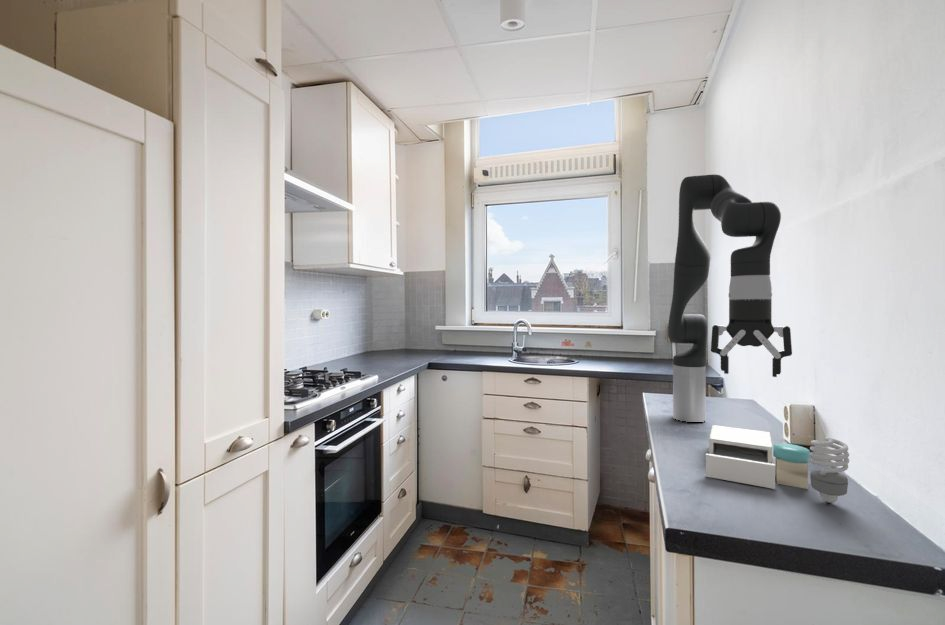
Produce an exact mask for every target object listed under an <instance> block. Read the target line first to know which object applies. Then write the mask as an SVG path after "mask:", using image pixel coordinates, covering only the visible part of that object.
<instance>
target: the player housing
mask: <svg viewBox="0 0 945 625" xmlns="http://www.w3.org/2000/svg"><path fill="white" fill-rule="evenodd" d="M710 430H711V431H710V434H709V438H708V439H709V440H708V443H709V445H708V448H709V450H708V454H714V453H715V449H720V450H727V451H733V452H740V453H746V454H753V455H760V456H766V463H771V464H773V443H772V438H771V432H770V431H763V430H757V429H746V428H741V427H730V426H723V425H714V424H712V428H711V429H710Z"/></svg>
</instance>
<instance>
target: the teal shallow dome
mask: <svg viewBox="0 0 945 625" xmlns="http://www.w3.org/2000/svg"><path fill="white" fill-rule="evenodd" d="M810 452H811V450H810V449H808V448H807V447H804V446H800V445H797V444H791V443H782V442H780V443H775V444H772V457H774V458H775V459H776V458H778V459H780V460H783V461H787V462H793V463H809V462H811V461H810V459H811V456H810Z"/></svg>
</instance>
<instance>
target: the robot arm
mask: <svg viewBox="0 0 945 625" xmlns="http://www.w3.org/2000/svg"><path fill="white" fill-rule="evenodd" d="M678 195H679V196H678V229H677V230H678V231H677V232H678V233H677V241H676V242H677V243H676V251H675V252H676V253H675V258H674V268H673V269H674V270H673V288H672V298H671V299H672V300H671V304H670V311H669V316H668V324H667V325H668V326H667V336H668V340H669V341H670V343H672V344H685V345H686V344H688V345H690V344H693V345H692V347H691V348H689V349H687V351H683V352H681V353H677V354H675V355H674V356H673V357H672V358H673V359H672V369H673V370H672V419H673V420H675V419H676V420H675V421H678V420H680V421H679V422H682V421H686V422H685V423H687V422H703V423H705V422H706V417H707V415H706V410H707V407H706V405H707V404H706V402H707V400H706V399H707V398H706V395H707V394H706V390H707V389H706V388H707V387H706V386H707V383H706V382H707V381H706V377H707V376H706V375H707V374H706V370H707V367H706V365H707V342H708V320H707V317H705V315H703V314H698V313H695V314H692V313H690V314H689V313H687V314H686V313H685V314H684V311H685V309H686V307H687V305H688V303H689V302H690V300H691V299H692V298H693V297H694V296H695V295H696V293H697V292H698V291H699V290H700V289H701V288H702V286H703V285H704V284H705V283H706V282H707V279H708V277H709V274H710V264H711V253H710V250H709V248H708V246H707V244H706V243H705V242H704V240H703V238H702V237H701V235H700V234H699V232H698V230H697V228H696V225H695V222H694V211H705V210H706V211H707V210H710V211H711V213H712V216H713V217H714V218H715V219H716V220H718V221H719V222H720V227H721V231H722V233H723V234H724V235H726V236H728V237H732V238H745V237H746V238H747V237H750V238H751V237H755V240H754V242H753V244H752V245H750V246H745V247H741V248H737V249H735V250H733V251H732V252H731V254H730V278H729V279H730V280H729V288H728V301H729V302H728V305H729V306H728V318H729V319H728V324H727V326H726V325H718V324H714V325H713V326H712V328H711V342H710V351H711V352H712V353H714V354H716V355H718V356H720V370H721V371H722V372H723V373H724V374H725V375H729V372H730V370H729V369H730V368H729V365H730V364H729V363H730V361H729V359H730V358H729V356H730V355H728V354H729V352H730V351H731V350H732V349H733V348H734V347H735V346H736V345H738V346H740V347H747V346H751V347H755V348H757V347H758V348H759V347H761V346H764V348H765V349H766V350H767V351H768V352H769V353H770V354H771V356H773V357H772V377H773V378H777V377H778V376H777V375H781V372H782V359H783V358H785V357H790V356H792V354H793V348H792V336H791V335H792V334H791V333H792V332H791V327H790V326H788V325H784V326H774V325H773V324H772V323H773V322H772V307H773V306H772V305H773V304H772V303H773V302H772V296H773V293H772V290H773V289H772V288H773V287H772V282H771V276H770V275H771V255H772V250H773V247H774V242H775V239H776V236H777V233H778V230H779V227H780V224H781V220H782V212H781V211H780V208H779V206H778V205H777V204H776V203H775V202H773V201H756V202H752V200H751V199H749V198H748V197H746V196H745V195H743V194H741V193H739V192H737V191H736V190H735V189H734V188H733V187H732V185H731V184H730V182H729V181H728V180H727V179H726V178H725V177H724V176H722V175H720V174H705V175H704V174H702V175H691V176H686V177H684V178H683V179H682V181H681V183H680V186H679V194H678ZM725 331H726V332H727V333H728V335H729V336H730V337H731V340H730V341H728V343H727V344H726V345H725V346H724V347H723V348H721V347H719V339H720V336H723V334H724V332H725ZM774 333H777V335H778V336H779V337H780V338H783V342H782V343H783V350H778V349H777V348H776V347H775V345H774V344H773V343H772V342H771V341H770V340H769V338H771V337H772V335H773V334H774ZM704 421H705V422H704Z"/></svg>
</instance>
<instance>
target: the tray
mask: <svg viewBox="0 0 945 625" xmlns="http://www.w3.org/2000/svg"><path fill="white" fill-rule="evenodd" d="M705 477H708V478H713V479H719V480H723V481H724V480H725V481H729V482H734V483H740V484H745V485H751V486H757V487H761V488H767V489H768V488H769V489H772V490H775V489H776V476H775V463H772V464H771V463H766V456H760V455H753V454H746V453H740V452H733V451H727V450H720V449H715V453H714V454H709V452H708V453H705Z"/></svg>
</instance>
